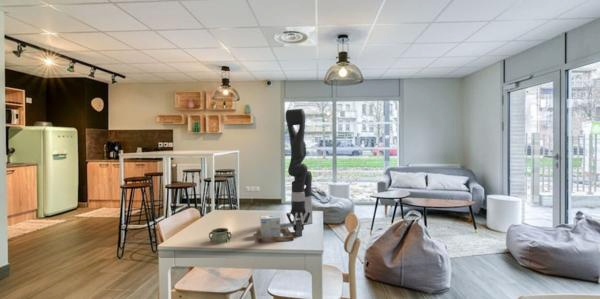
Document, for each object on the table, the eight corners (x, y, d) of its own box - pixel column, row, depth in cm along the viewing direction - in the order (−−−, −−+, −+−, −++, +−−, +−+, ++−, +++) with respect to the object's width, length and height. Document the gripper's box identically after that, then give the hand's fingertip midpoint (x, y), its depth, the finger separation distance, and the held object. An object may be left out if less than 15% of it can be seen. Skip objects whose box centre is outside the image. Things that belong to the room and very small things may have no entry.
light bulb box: (279, 233, 178) (279, 214, 178) (280, 237, 171) (280, 217, 171) (260, 234, 176) (260, 215, 176) (261, 238, 169) (260, 218, 169)
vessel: (233, 239, 168) (233, 227, 168) (229, 244, 159) (229, 232, 159) (211, 239, 168) (211, 227, 168) (206, 244, 159) (205, 232, 159)
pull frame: (298, 230, 183) (298, 216, 183) (304, 239, 165) (304, 224, 165) (256, 233, 178) (256, 219, 178) (258, 242, 160) (258, 227, 160)
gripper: (309, 198, 178) (309, 228, 179) (284, 199, 176) (284, 229, 176) (312, 200, 171) (312, 231, 171) (286, 201, 168) (286, 233, 168)
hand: (298, 230), depth 174 cm, fingers closed on pull frame, 3 cm apart
